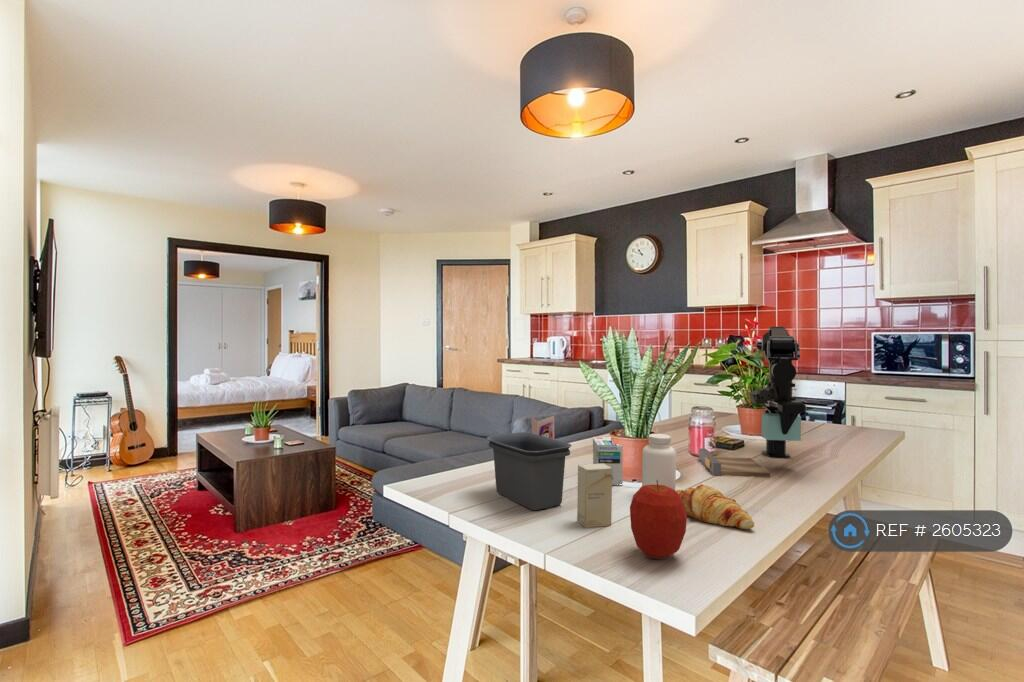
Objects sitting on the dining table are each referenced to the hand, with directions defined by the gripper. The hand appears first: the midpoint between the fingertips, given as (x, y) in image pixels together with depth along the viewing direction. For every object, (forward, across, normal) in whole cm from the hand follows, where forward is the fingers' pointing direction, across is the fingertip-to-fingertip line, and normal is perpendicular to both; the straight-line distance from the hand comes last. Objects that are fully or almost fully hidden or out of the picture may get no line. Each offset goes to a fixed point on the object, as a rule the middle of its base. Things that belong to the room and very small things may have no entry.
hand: (780, 432), depth 148 cm
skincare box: (+11, +48, -56) cm, 75 cm away
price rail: (+11, 0, -20) cm, 23 cm away
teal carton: (+2, 0, 0) cm, 2 cm away
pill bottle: (+11, +29, -40) cm, 50 cm away
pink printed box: (+11, +7, -71) cm, 72 cm away
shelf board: (+11, 0, -12) cm, 17 cm away
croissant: (+11, +42, -31) cm, 53 cm away
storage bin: (+11, +34, -71) cm, 79 cm away
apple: (+11, +63, -46) cm, 78 cm away
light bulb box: (+11, +17, -51) cm, 55 cm away
